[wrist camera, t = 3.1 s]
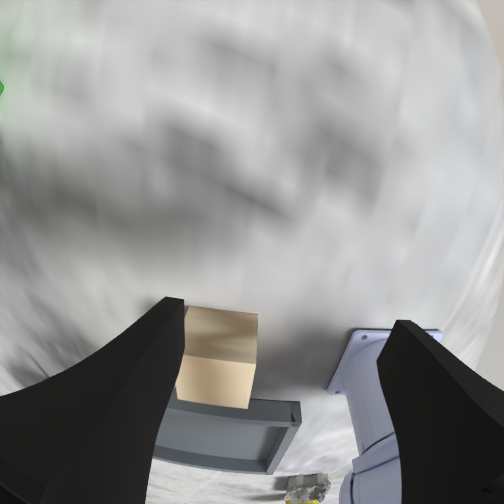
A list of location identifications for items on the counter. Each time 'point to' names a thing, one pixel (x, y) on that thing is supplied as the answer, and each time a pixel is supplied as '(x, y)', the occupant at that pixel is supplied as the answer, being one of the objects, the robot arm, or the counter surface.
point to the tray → (227, 435)
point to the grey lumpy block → (308, 487)
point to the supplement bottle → (302, 501)
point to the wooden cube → (218, 357)
